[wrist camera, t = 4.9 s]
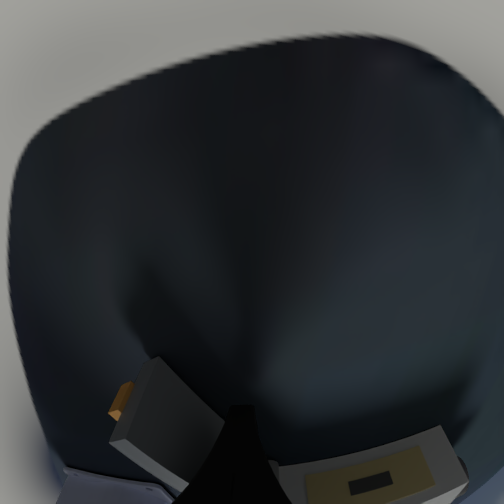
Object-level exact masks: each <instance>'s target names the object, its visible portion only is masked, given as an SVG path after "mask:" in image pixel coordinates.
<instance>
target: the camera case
mask: <svg viewBox="0 0 504 504" xmlns="http://www.w3.org/2000/svg"><path fill="white" fill-rule="evenodd" d="M279 480H280V485H281V487H282V489H283V490H284V492H285V494H286V495H287V497H288V498H289V500H290V501H291V503H292V504H450V503H451V502H452V501H453V500H454V499H455V498H457V497H459V496H461V495H463V494H464V493H465V492H466V491H467V488H468V484H469V476H468V471H467V468H466V465H465V463H464V462H463V460H462V459H461V458H460V457H458V456H456V454H455V452H454V450H453V448H452V446H451V444H450V442H449V440H448V438H447V436H446V435H445V433H444V431H443V429H442V427H441V425H439V426H436V427H434V428H431V429H429V430H426V431H424V432H421V433H418V434H415V435H413V436H410V437H407V438H404V439H401V440H398V441H395V442H392V443H389V444H385V445H382V446H379V447H375V448H371V449H368V450H364V451H360V452H356V453H352V454H348V455H344V456H339V457H334V458H330V459H325V460H319V461H314V462H308V463H302V464H295V465H288V466H280V467H279Z"/></svg>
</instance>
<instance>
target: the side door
mask: <svg viewBox="0 0 504 504" xmlns="http://www.w3.org/2000/svg"><path fill="white" fill-rule="evenodd" d="M108 413H109V414H110V415H111V416H112V417H113V418H114V419H115V420H116V421H117V424H116V426H115V428H114V431H113V433H112V435H111V438H110V440H109V443H110V444H111V445H112V446H114V447H115V448H116V449H117V450H119V451H120V452H121V453H123V454H124V455H125V456H127V457H128V458H129V459H131V460H132V461H134V462H135V463H136V464H138V465H139V466H141V467H142V468H144V469H145V470H146V471H148V472H149V473H151V474H152V475H154V476H156V477H157V478H159V479H160V480H162V481H163V482H165V483H167V484H168V485H170V486H172V487H173V488H175V489H177V490H178V491H180V492H182V491H183V490H184V489H185V488H186V487H187V486H188V484H189V483H190V482H191V480H192V479H193V478H194V476H195V475H196V474H197V472H198V471H199V469H200V468H201V466H202V465H203V463H204V461H205V460H206V458H207V457H208V455H209V453H210V452H211V450H212V448H213V446H214V444H215V442H216V440H217V438H218V436H219V434H220V432H221V430H222V427H223V425H224V423H225V421H224V420H223V419H222V418H221V417H219V416H218V415H217V414H216V413H215V412H214V411H213V410H212V409H211V408H210V407H209V406H208V405H207V404H205V403H204V402H203V401H202V400H201V399H200V398H199V397H198V396H197V395H196V394H195V393H194V392H193V391H192V390H191V389H190V388H189V387H188V386H187V385H186V384H185V383H184V382H183V381H182V380H181V379H180V378H179V377H178V376H177V375H176V374H175V373H174V372H173V371H172V369H171V368H170V367H169V366H168V365H167V364H166V363H165V362H164V361H163V360H162V359H161V358H160V357H159V356H158V357H156V358H154V359H152V360H149V361H147V362H145V363H144V364H143V366H142V368H141V370H140V373H139V375H138V377H137V379H136V381H135V383H133V382H132V381H130V382H128V383H125V384H123V385H121V387H120V389H119V391H118V393H117V395H116V397H115V399H114V401H113V404H112V406H111V408H110V410H109V412H108ZM266 457H267V456H266ZM268 462H269V464H270V466H271V468H272V470H273V472H274V474H275V476H276V478H277V480H278V482H279V483H280V480H279V464H278V462H276V461H274V460H268Z"/></svg>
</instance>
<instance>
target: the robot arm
mask: <svg viewBox="0 0 504 504" xmlns="http://www.w3.org/2000/svg"><path fill="white" fill-rule="evenodd" d="M63 470H64V472H65V473H66V474H67V475H68V477H67V479H66V481H65V484H64V486H63V488H62V490H61V493H60V495H59V498H58V500H57V502H56V504H292V503H291V501H290V500H289V498H288V497H287V495H286V494H285V492H284V490H283V489H282V487H281V485H280V483H279V482H278V480H277V478H276V476H275V474H274V472H273V470H272V468H271V466H270V464H269V462H268V459H267V457H266V455H265V452H264V450H263V447H262V444H261V441H260V438H259V435H258V428H257V422H256V415H255V409H254V406H252V405H232V406H231V407H230V408H229V412H228V415H227V417H226V420H225V423H224V425H223V427H222V430H221V432H220V434H219V436H218V438H217V440H216V442H215V444H214V446H213V448H212V450H211V452H210V453H209V455H208V457H207V458H206V460H205V461H204V463H203V465H202V466H201V468H200V469H199V471H198V472H197V474H196V475H195V476H194V478H193V479H192V480H191V482H190V483H189V484H188V486H187V487H186V488H185V489H184V490H183V491H182V493H181V494H180V495H179V496H178V497H177V498H176V499H175V500H174V499H173V498H172V497H171V495H170V494H169V493H168V492H167V491H166V490H165V489H164V488H163V487H162V486H161V485H159V484H155V483H147V482H139V481H132V480H126V479H120V478H114V477H108V476H103V475H98V474H94V473H89V472H85V471H81V470H77V469H73V468H69V467H64V469H63Z"/></svg>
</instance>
